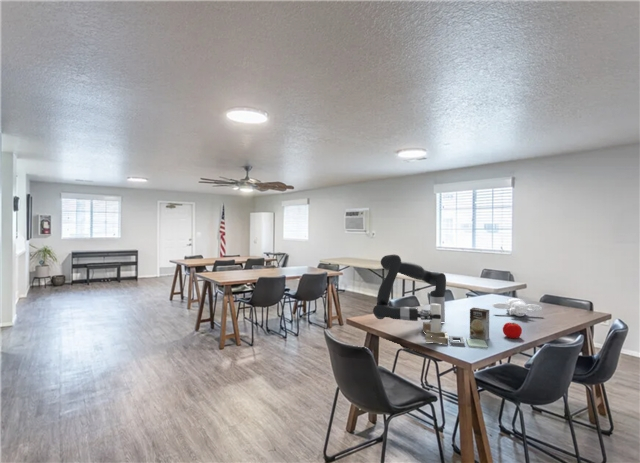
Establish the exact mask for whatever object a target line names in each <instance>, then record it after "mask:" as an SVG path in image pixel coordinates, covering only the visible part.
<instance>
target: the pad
mask: <svg viewBox="0 0 640 463" xmlns="http://www.w3.org/2000/svg"><path fill="white" fill-rule="evenodd" d="M466 343H467V345H468V347H470V348H480V349H489V348H488V347H489V346H488V344H487V343H486V340H482V339H477V338H466Z"/></svg>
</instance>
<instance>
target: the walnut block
mask: <svg viewBox="0 0 640 463" xmlns="http://www.w3.org/2000/svg"><path fill="white" fill-rule="evenodd" d="M422 322H423V321H422ZM423 331H424V332H425V333H426V331H431V325H430V321H426V322H425V321H424V322H423V323H422V332H423Z"/></svg>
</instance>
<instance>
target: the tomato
mask: <svg viewBox="0 0 640 463" xmlns="http://www.w3.org/2000/svg"><path fill="white" fill-rule="evenodd" d="M522 331H523V330H522V327H521V325H520V324H518V323H516V322H506V323H505V324H503V326H502V333H503V334H504V336H506V337H507V338H510V339H518V338H520V337H521V335H522V333H523V332H522Z"/></svg>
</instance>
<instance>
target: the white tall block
mask: <svg viewBox="0 0 640 463" xmlns="http://www.w3.org/2000/svg"><path fill="white" fill-rule="evenodd" d="M429 305H430V307H429V308H430V309H429V310H430V314H437V315H441V304H437V303H432V304H430V303H429ZM429 322H430V325H431V332H433V333H441V332H442V323H441V319H434V318H433V319H432V320H429Z"/></svg>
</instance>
